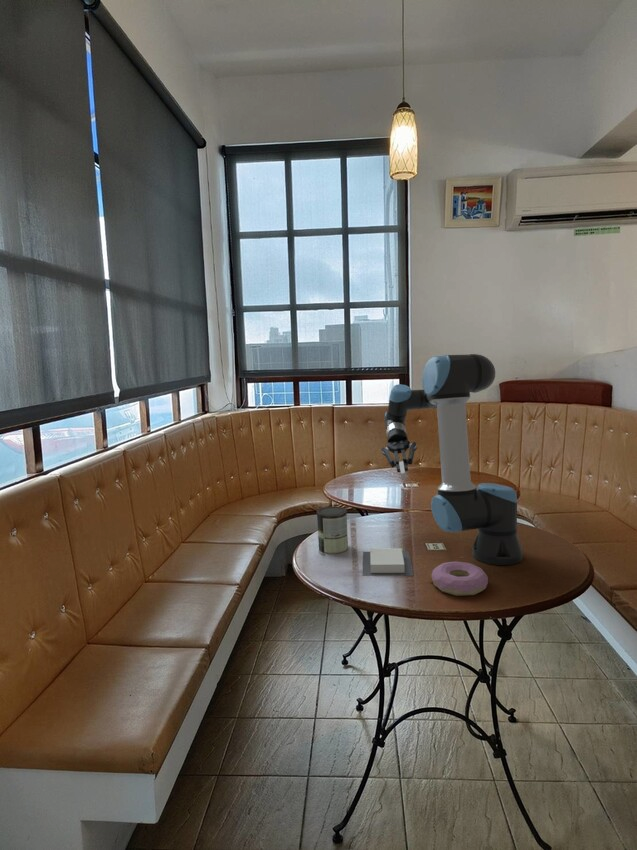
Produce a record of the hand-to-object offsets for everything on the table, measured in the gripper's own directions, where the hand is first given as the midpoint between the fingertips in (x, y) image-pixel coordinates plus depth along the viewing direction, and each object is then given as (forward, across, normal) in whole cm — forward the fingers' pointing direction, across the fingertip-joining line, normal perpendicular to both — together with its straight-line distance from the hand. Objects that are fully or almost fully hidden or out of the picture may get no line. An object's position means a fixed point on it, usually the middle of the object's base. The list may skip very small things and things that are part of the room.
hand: (403, 476), depth 170 cm
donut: (+39, -10, -11) cm, 41 cm away
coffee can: (+13, +28, -17) cm, 35 cm away
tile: (+19, +10, -14) cm, 26 cm away
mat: (+25, +10, -14) cm, 30 cm away
